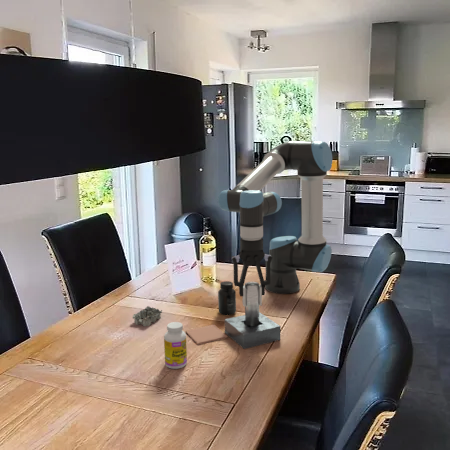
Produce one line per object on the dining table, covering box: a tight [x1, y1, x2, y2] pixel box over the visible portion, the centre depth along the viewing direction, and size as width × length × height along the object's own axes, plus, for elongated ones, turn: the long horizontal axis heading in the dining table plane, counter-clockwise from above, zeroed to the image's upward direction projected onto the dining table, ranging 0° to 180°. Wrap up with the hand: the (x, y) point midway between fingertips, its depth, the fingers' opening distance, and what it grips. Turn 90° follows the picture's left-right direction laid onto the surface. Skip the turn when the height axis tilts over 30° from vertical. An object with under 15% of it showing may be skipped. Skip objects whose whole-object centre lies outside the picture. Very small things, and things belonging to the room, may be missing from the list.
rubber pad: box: [185, 324, 228, 345], centre depth 163 cm, size 11×11×1 cm
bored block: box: [224, 311, 281, 350], centre depth 161 cm, size 14×14×5 cm
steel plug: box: [244, 281, 260, 326], centre depth 159 cm, size 5×5×14 cm
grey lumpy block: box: [132, 305, 163, 327], centre depth 176 cm, size 11×8×4 cm
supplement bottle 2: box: [217, 280, 237, 316], centre depth 181 cm, size 7×7×12 cm
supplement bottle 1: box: [163, 321, 188, 370], centre depth 142 cm, size 7×7×13 cm
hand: (252, 304), depth 159 cm, fingers closed on steel plug, 5 cm apart
